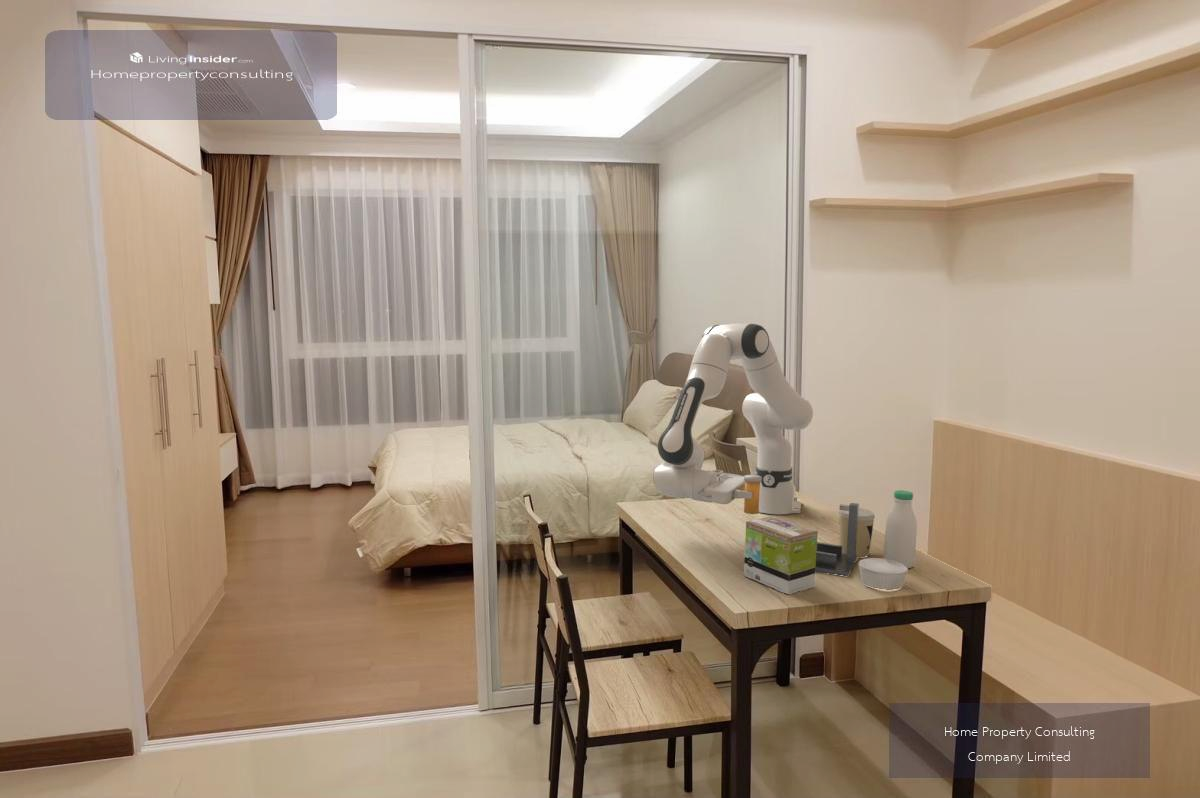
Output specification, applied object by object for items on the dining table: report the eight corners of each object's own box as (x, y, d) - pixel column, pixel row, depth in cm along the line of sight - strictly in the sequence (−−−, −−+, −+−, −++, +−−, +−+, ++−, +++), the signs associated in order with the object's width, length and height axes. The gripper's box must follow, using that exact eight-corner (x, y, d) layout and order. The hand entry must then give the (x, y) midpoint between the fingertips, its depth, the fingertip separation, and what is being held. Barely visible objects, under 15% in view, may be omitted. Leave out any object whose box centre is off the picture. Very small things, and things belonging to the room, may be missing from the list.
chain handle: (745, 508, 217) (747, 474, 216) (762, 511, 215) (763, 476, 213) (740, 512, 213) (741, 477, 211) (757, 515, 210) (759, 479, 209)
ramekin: (915, 588, 189) (917, 568, 189) (886, 597, 183) (888, 576, 183) (877, 574, 199) (878, 554, 198) (848, 582, 193) (849, 562, 192)
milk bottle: (916, 571, 201) (922, 496, 199) (885, 568, 203) (890, 494, 200) (911, 561, 209) (916, 489, 206) (881, 559, 210) (885, 487, 208)
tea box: (742, 577, 195) (744, 520, 193) (769, 569, 200) (772, 514, 199) (788, 596, 183) (791, 535, 181) (815, 588, 188) (819, 529, 186)
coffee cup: (874, 560, 209) (877, 517, 208) (838, 557, 211) (841, 514, 210) (869, 549, 219) (871, 508, 217) (834, 547, 220) (837, 506, 219)
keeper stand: (815, 553, 214) (819, 492, 212) (858, 560, 209) (862, 498, 207) (803, 569, 201) (807, 505, 199) (849, 577, 196) (853, 511, 194)
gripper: (695, 483, 209) (744, 489, 203) (719, 468, 227) (765, 474, 221) (694, 505, 210) (743, 513, 204) (718, 489, 228) (764, 496, 222)
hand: (755, 492), depth 213 cm, fingers closed on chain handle, 4 cm apart
